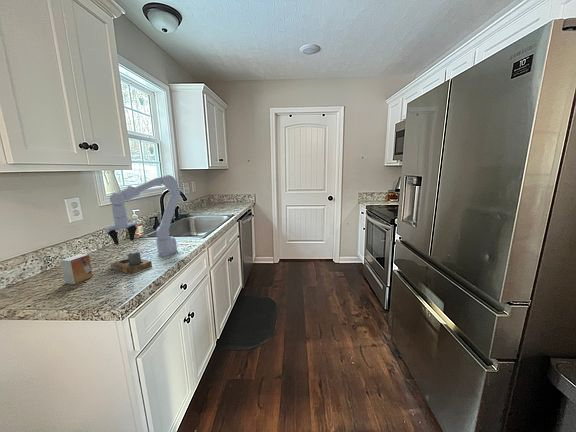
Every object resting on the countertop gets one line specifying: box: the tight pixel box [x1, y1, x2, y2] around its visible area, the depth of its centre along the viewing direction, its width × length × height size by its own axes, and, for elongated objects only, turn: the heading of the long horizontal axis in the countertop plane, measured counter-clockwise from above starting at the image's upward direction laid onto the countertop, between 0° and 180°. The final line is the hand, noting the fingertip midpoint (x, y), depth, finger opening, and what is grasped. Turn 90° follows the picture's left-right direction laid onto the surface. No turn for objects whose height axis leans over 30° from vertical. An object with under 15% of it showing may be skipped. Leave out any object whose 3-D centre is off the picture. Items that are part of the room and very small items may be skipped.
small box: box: [59, 253, 94, 285], centre depth 105 cm, size 8×6×10 cm
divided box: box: [110, 257, 153, 276], centre depth 116 cm, size 10×16×3 cm, turn 62°
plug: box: [127, 250, 142, 266], centre depth 114 cm, size 4×4×8 cm
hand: (124, 242), depth 126 cm, fingers open, 7 cm apart
